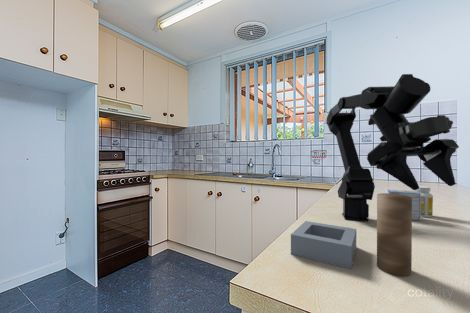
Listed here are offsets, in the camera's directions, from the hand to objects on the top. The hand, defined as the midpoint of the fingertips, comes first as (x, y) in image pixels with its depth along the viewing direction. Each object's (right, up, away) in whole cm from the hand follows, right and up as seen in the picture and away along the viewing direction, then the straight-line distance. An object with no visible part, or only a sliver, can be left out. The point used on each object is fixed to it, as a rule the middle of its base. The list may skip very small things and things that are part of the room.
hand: (435, 187), depth 45 cm
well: (-21, -14, +2) cm, 25 cm away
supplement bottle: (+22, -14, +29) cm, 39 cm away
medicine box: (+14, -14, +27) cm, 33 cm away
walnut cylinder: (-12, -14, -5) cm, 19 cm away
